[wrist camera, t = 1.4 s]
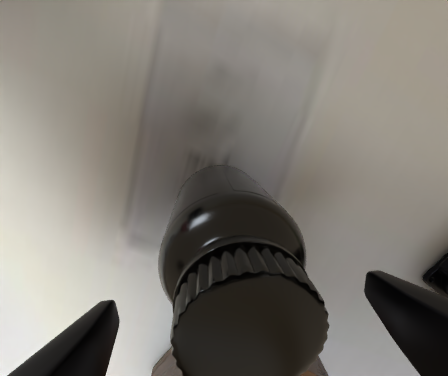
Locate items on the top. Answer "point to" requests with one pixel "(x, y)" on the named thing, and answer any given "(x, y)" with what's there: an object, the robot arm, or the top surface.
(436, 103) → the top surface
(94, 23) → the top surface
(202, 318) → the supplement bottle
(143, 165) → the top surface
